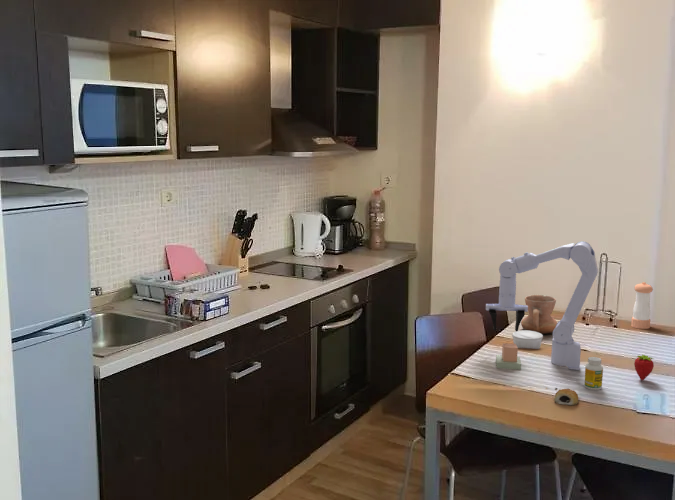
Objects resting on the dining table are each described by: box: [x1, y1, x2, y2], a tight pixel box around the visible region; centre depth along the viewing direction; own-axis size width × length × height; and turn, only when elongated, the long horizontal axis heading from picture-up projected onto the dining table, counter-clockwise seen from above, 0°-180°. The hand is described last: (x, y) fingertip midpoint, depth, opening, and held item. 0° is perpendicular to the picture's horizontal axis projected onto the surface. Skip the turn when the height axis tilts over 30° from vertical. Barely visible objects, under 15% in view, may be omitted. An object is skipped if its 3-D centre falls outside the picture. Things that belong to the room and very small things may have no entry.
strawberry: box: [633, 354, 655, 381], centre depth 229 cm, size 6×8×10 cm
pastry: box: [553, 388, 579, 406], centre depth 213 cm, size 9×7×4 cm
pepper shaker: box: [630, 281, 654, 330], centre depth 292 cm, size 7×7×19 cm
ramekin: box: [511, 329, 544, 350], centre depth 264 cm, size 11×11×5 cm
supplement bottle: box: [584, 356, 604, 391], centre depth 223 cm, size 5×5×10 cm
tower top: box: [495, 354, 522, 370], centre depth 241 cm, size 8×8×2 cm
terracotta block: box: [501, 342, 519, 362], centre depth 240 cm, size 4×4×5 cm
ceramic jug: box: [520, 294, 558, 335], centre depth 284 cm, size 18×14×14 cm
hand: (505, 330), depth 250 cm, fingers open, 7 cm apart
